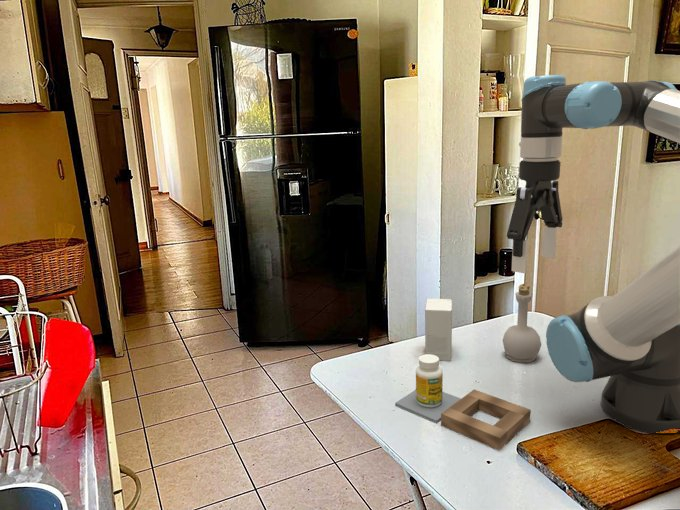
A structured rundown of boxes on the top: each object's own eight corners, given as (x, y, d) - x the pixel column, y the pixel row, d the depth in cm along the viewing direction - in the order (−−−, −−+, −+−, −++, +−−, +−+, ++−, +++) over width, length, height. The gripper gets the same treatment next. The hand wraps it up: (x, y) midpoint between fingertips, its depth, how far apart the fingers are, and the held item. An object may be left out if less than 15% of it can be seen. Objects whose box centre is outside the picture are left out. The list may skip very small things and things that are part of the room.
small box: (426, 346, 134) (426, 298, 131) (451, 347, 133) (452, 298, 130) (424, 360, 127) (424, 309, 123) (451, 361, 125) (452, 310, 122)
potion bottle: (543, 353, 128) (547, 282, 123) (534, 367, 121) (539, 293, 116) (507, 346, 132) (510, 277, 128) (496, 359, 125) (499, 288, 121)
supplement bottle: (429, 392, 111) (429, 350, 108) (448, 402, 106) (448, 359, 104) (410, 400, 108) (409, 357, 105) (428, 411, 103) (428, 366, 101)
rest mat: (464, 402, 107) (464, 399, 107) (436, 423, 100) (436, 420, 100) (423, 386, 114) (423, 384, 114) (395, 405, 107) (395, 402, 107)
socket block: (530, 421, 100) (530, 409, 99) (499, 450, 91) (499, 438, 91) (473, 400, 108) (474, 389, 107) (440, 425, 100) (441, 413, 99)
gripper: (547, 154, 113) (542, 249, 119) (490, 164, 96) (487, 275, 101) (583, 154, 108) (576, 254, 113) (530, 165, 91) (524, 282, 96)
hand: (534, 264), depth 107 cm, fingers open, 13 cm apart
